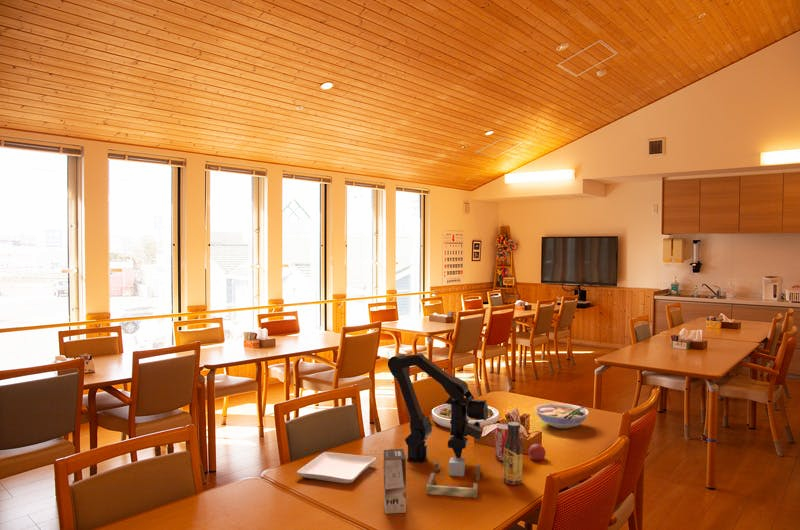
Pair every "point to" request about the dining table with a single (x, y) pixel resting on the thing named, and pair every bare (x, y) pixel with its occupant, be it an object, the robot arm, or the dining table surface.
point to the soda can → (500, 440)
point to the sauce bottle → (513, 456)
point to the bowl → (444, 416)
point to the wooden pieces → (450, 489)
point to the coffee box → (394, 481)
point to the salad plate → (336, 467)
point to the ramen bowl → (561, 414)
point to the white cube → (457, 466)
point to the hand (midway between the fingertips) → (458, 459)
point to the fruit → (536, 452)
